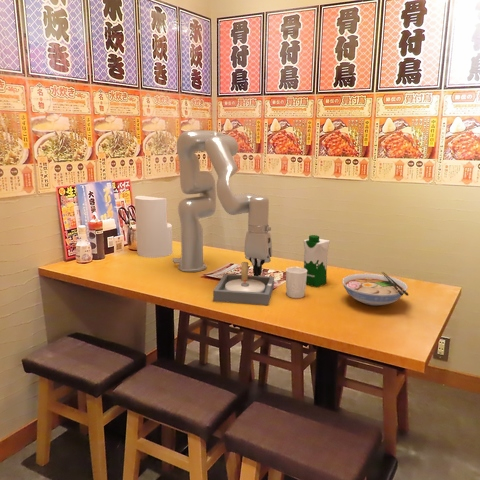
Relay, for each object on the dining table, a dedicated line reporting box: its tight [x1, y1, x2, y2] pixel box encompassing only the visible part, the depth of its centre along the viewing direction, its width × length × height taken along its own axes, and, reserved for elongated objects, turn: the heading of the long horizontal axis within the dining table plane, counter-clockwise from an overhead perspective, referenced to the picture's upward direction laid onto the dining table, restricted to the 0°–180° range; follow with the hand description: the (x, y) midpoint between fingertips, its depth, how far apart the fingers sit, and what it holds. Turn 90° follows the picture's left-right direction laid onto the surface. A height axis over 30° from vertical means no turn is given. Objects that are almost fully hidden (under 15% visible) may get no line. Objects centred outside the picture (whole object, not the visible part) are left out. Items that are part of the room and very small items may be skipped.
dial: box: [225, 261, 265, 293], centre depth 172 cm, size 15×15×9 cm
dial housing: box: [212, 273, 275, 306], centre depth 173 cm, size 20×20×4 cm
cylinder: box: [134, 195, 173, 259], centre depth 224 cm, size 17×17×28 cm
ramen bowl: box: [342, 271, 409, 307], centre depth 165 cm, size 25×23×8 cm
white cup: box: [285, 266, 307, 299], centre depth 171 cm, size 8×8×10 cm
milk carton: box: [303, 234, 331, 288], centre depth 183 cm, size 9×9×20 cm
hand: (257, 275), depth 176 cm, fingers closed
